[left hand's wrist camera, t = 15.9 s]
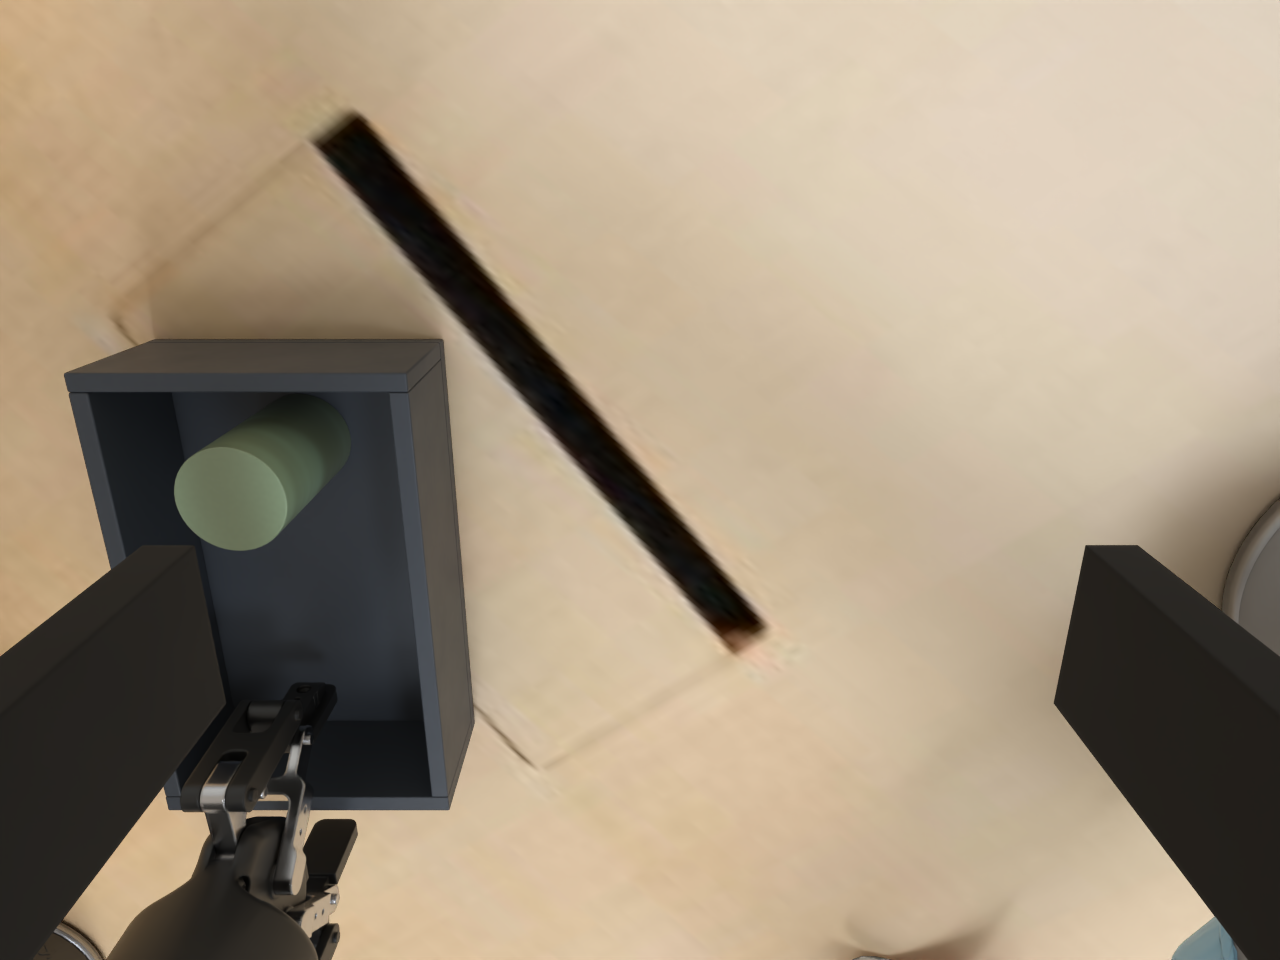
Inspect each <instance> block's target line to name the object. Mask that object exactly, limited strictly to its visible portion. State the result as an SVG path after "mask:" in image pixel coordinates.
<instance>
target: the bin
mask: <svg viewBox="0 0 1280 960" xmlns="http://www.w3.org/2000/svg"><path fill="white" fill-rule="evenodd" d="M64 377H65V381H66V386H67V390H68V392H70V393H69V398H70V402H71V406H72V410H73V414H74V418H75V423H76V427H77V431H78V435H79V439H80V443H81V447H82V451H83V456H84V460H85V464H86V468H87V472H88V476H89V480H90V485H91V489H92V493H93V497H94V501H95V505H96V509H97V513H98V518H99V522H100V526H101V530H102V534H103V538H104V542H105V546H106V551H107V555H108V559H109V563H110V567H111V569H113V568H114V567H115V566H117V565H118V564H119V563H120V562H122V561H123V560H124V559H126V558H127V557H128V556H129V555H131V554H132V553H133V552H134V551H136V550H137V549H138V548H140V547H141V546H142V545H194V546H195V551H196V556H197V561H198V566H199V571H200V576H201V581H202V586H203V591H204V596H205V601H206V606H207V610H208V615H209V620H210V625H211V630H212V635H213V640H214V645H215V650H216V655H217V660H218V665H219V670H220V675H221V680H222V685H223V690H224V695H225V700H226V704H225V706H224V707H223V708H222V710H221V711H220V712H219V714H218V715H217V716H216V718H215V719H214V720H213V721H212V723H211V724H210V725H209V727H208V728H207V729H206V731H205V732H204V733H203V735H202V736H201V737H200V739H199V740H198V741H197V743H196V744H195V745H194V747H193V748H192V749H191V751H190V752H189V753H188V755H187V756H186V757H185V759H184V760H183V761H182V762H181V764H180V765H179V766H178V768H177V769H176V770H175V772H174V773H173V774H172V776H171V777H170V778H169V780H168V781H167V782H166V784H165V785H164V790H165V794H166V800H167V804H168V808H169V810H182V809H181V806H180V795H181V791H182V788H183V786H184V784H185V782H186V781H187V779H188V778H189V776H190V775H191V773H192V772H193V770H194V769H195V767H196V766H197V765H198V763H199V762H200V760H201V759H202V757H203V756H204V754H205V753H206V751H207V750H208V748H209V747H210V745H211V744H212V742H213V741H214V739H215V738H216V736H217V735H218V733H219V732H220V730H221V729H222V727H223V726H224V724H225V723H226V721H227V720H228V718H229V717H230V716H231V714H232V713H233V711H234V710H235V708H236V707H237V705H238V704H239V702H240V701H241V700H282V699H283V698H284V696H285V695H286V693H288V690H289V689H290V687H291V685H293V684H294V683H296V682H325V684H332V685H334V686H335V687H336V692H337V699H338V701H337V703H336V705H335V706H334V708H333V710H332V712H331V714H330V715H329V717H328V719H327V721H326V723H325V724H324V726H323V728H322V730H321V732H320V733H319V735H318V737H317V739H316V741H315V742H314V743H312V748H311V753H310V758H309V763H308V768H307V773H306V781H307V782H308V783H309V784H310V785H311V786H312V787H313V790H314V794H313V799H312V804H311V809H310V810H449V809H450V806H451V802H452V799H453V796H454V792H455V789H456V785H457V782H458V779H459V775H460V772H461V768H462V765H463V762H464V758H465V755H466V751H467V748H468V744H469V741H470V738H471V734H472V730H473V727H474V724H475V723H474V711H473V698H472V686H471V674H470V662H469V649H468V637H467V625H466V613H465V601H464V588H463V576H462V564H461V552H460V539H459V527H458V515H457V503H456V491H455V478H454V466H453V454H452V442H451V430H450V417H449V405H448V393H447V381H446V368H445V356H444V344H443V340H442V339H154V340H152V341H149V342H146V343H144V344H141V345H139V346H136V347H133V348H131V349H128V350H125V351H123V352H120V353H117V354H115V355H112V356H109V357H107V358H104V359H101V360H98V361H96V362H93V363H90V364H88V365H85V366H82V367H80V368H77V369H74V370H72V371H69V372H66V373H64ZM291 394H306V395H311V396H315V397H317V398H320V399H322V400H324V401H325V402H327V403H329V404H330V405H331V406H333V407H334V408H335V409H336V410H337V411H338V412H339V413H340V415H341V416H342V417H343V419H344V420H345V422H346V424H347V426H348V429H349V432H350V437H351V450H350V455H349V457H348V460H347V462H346V463H345V465H344V466H343V467H342V469H341V470H340V471H339V472H338V473H337V474H336V475H335V476H334V477H333V478H332V479H331V480H330V481H329V482H328V483H327V484H326V485H325V486H324V487H323V488H322V490H321V491H320V492H319V493H318V494H317V495H316V496H315V497H314V498H313V499H312V500H311V501H310V502H309V503H308V504H307V505H306V506H305V507H304V508H303V509H302V510H301V511H300V512H299V513H298V514H297V516H296V517H295V518H294V519H293V520H292V521H291V522H290V523H289V524H288V525H287V526H286V527H285V528H284V529H283V530H282V531H281V532H280V533H279V534H278V535H277V536H276V537H275V538H274V539H273V540H272V541H270V542H269V543H268V544H266V545H264V546H262V547H259V548H256V549H252V550H244V551H235V550H228V549H224V548H220V547H217V546H215V545H212V544H210V543H208V542H207V541H205V540H203V539H202V538H200V537H199V536H198V535H197V534H195V533H194V532H193V531H192V530H191V529H190V528H189V527H188V525H187V524H186V523H185V521H184V520H183V518H182V517H181V515H180V513H179V511H178V508H177V505H176V502H175V495H174V486H175V480H176V477H177V474H178V472H179V470H180V468H181V466H182V465H183V464H184V462H185V461H186V460H187V459H188V458H190V457H191V456H192V455H194V454H195V453H197V452H198V451H200V450H201V449H203V448H204V447H206V446H207V445H209V444H210V443H212V442H213V441H215V440H216V439H218V438H219V437H221V436H222V435H224V434H225V433H227V432H228V431H230V430H231V429H233V428H234V427H236V426H237V425H239V424H240V423H242V422H243V421H245V420H246V419H248V418H249V417H251V416H252V415H254V414H255V413H257V412H258V411H260V410H261V409H263V408H264V407H266V406H267V405H269V404H270V403H272V402H273V401H275V400H277V399H279V398H280V397H283V396H286V395H291ZM289 754H290V753H284V754H283V756H282V758H281V760H280V761H279V763H278V765H277V767H276V769H275V771H274V772H273V774H272V776H271V777H280V776H282V775H283V774H284V773H285V771H286V768H287V763H288V759H289ZM288 808H289V801H257V803H256V805H255V807H254V808H253V810H288Z"/></svg>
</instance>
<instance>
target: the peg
mask: <svg viewBox="0 0 1280 960" xmlns="http://www.w3.org/2000/svg"><path fill="white" fill-rule="evenodd" d="M350 450H351V437H350V432H349V429H348V426H347V424H346V422H345V420H344V419H343V417H342V416H341V415H340V413H339V412H338V411H337V410H336V409H335V408H334V407H333V406H331V405H330V404H329V403H327V402H325V401H324V400H322V399H320V398H317V397H315V396H311V395H306V394H291V395H286V396H283V397H280V398H279V399H277V400H275V401H273V402H272V403H270V404H269V405H267V406H266V407H264V408H263V409H261V410H260V411H258V412H257V413H255V414H254V415H252V416H251V417H249V418H248V419H246V420H245V421H243V422H242V423H240V424H239V425H237V426H236V427H234V428H233V429H231V430H230V431H228V432H227V433H225V434H224V435H222V436H221V437H219V438H218V439H216V440H215V441H213V442H212V443H210V444H209V445H207V446H206V447H204V448H203V449H201V450H200V451H198V452H197V453H195V454H194V455H192V456H191V457H190V458H188V459H187V460H186V461H185V462H184V464H183V465H182V466H181V468H180V470H179V472H178V474H177V477H176V480H175V486H174V495H175V502H176V505H177V508H178V511H179V513H180V515H181V517H182V518H183V520H184V521H185V523H186V524H187V525H188V527H189V528H190V529H191V530H192V531H193V532H194V533H195V534H197V535H198V536H199V537H200V538H202V539H203V540H205V541H207V542H208V543H210V544H212V545H215V546H217V547H220V548H224V549H228V550H235V551H244V550H252V549H256V548H259V547H262V546H264V545H266V544H268V543H269V542H270V541H272V540H273V539H274V538H275V537H276V536H277V535H278V534H279V533H280V532H281V531H282V530H283V529H284V528H285V527H286V526H287V525H288V524H289V523H290V522H291V521H292V520H293V519H294V518H295V517H296V516H297V514H298V513H299V512H300V511H301V510H302V509H303V508H304V507H305V506H306V505H307V504H308V503H309V502H310V501H311V500H312V499H313V498H314V497H315V496H316V495H317V494H318V493H319V492H320V491H321V490H322V488H323V487H324V486H325V485H326V484H327V483H328V482H329V481H330V480H331V479H332V478H333V477H334V476H335V475H336V474H337V473H338V472H339V471H340V470H341V469H342V467H343V466H344V465H345V463H346V462H347V460H348V457H349V455H350Z"/></svg>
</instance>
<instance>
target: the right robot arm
mask: <svg viewBox="0 0 1280 960" xmlns="http://www.w3.org/2000/svg"><path fill="white" fill-rule="evenodd" d="M337 701H338V699H337V692H336V687H335V686H334V685H332V684H325V682H296V683H294V684H293V685H291V687H290V689H289V690H288V693H286V695H285V696H284V698H283V699H282V700H241V701H240V702H239V704H238V705H237V707H236V708H235V710H234V711H233V713H232V714H231V716H230V717H229V718H228V720H227V721H226V723H225V724H224V726H223V727H222V729H221V730H220V732H219V733H218V735H217V736H216V738H215V739H214V741H213V742H212V744H211V745H210V747H209V748H208V750H207V751H206V753H205V754H204V756H203V757H202V759H201V760H200V762H199V763H198V765H197V766H196V767H195V769H194V770H193V772H192V773H191V775H190V776H189V778H188V779H187V781H186V782H185V784H184V786H183V788H182V791H181V795H180V806H181V809H182V811H183V812H204V813H205V815H206V819H207V823H208V827H209V830H210V835H209V836H208V837H207V839H206V841H205V843H204V845H203V847H202V850H201V853H200V857H199V860H198V862H197V865H196V868H195V870H194V872H193V875H192V877H191V879H190V880H189V881H188V882H186V883H185V884H184V885H182V886H181V887H179V888H178V889H176V890H174V891H173V892H171V893H170V894H168V895H166V896H165V897H163V898H161V899H159V900H158V901H156V902H154V903H153V904H151V905H150V906H148V907H147V908H145V909H144V910H143V911H142V912H141V913H139V914H138V915H137V916H136V917H135V918H134V920H133V921H132V922H131V923H130V925H129V926H128V928H127V929H126V931H125V932H124V934H123V935H122V937H121V938H120V940H119V941H118V943H117V944H116V946H115V947H114V949H113V950H112V952H111V953H110V955H109V956H108V958H107V959H106V960H331V959H332V957H333V954H334V952H335V949H336V947H337V944H338V942H339V939H340V932H339V925H338V924H329V915H330V914H332V913H333V912H334V911H335V910H336V907H337V904H338V902H339V897H340V896H339V888H338V886H337V885H335V884H338V881H339V879H340V877H341V874H342V872H343V869H344V867H345V865H346V862H347V860H348V857H349V855H350V852H351V850H352V848H353V845H354V843H355V840H356V838H357V835H358V833H357V826H356V822H355V821H354V820H352V819H323V820H320V821H318V822H317V823H316V824H315V825H314V827H313V829H312V831H311V833H310V835H309V837H308V839H307V841H306V843H305V845H304V839H305V834H306V829H307V824H308V819H309V814H310V809H311V804H312V799H313V794H314V790H313V787H312V786H311V785H310V784H309V783H308V782H307V781H306V773H307V768H308V763H309V758H310V753H311V748H312V743H314V742H315V741H316V739H317V737H318V735H319V733H320V732H321V730H322V728H323V726H324V724H325V723H326V721H327V719H328V717H329V715H330V714H331V712H332V710H333V708H334V706H335V705H336V703H337ZM284 753H290V754H289V759H288V763H287V768H286V771H285V773H284V774H283V775H282V776H280V777H271V776H272V774H273V772H274V771H275V769H276V767H277V765H278V763H279V761H280V760H281V758H282V756H283V754H284ZM257 801H289V808H288V812H287V817H252V818H248V819H246V813H247V812H251V811H252V810H253V808H254V807H255V805H256V803H257ZM303 845H304V847H303ZM32 960H102V958H101V956H100V954H99V953H98V952H97V950H96V949H95V948H94V946H93V945H92V944H91V943H90V942H89V941H88V940H87V939H86V938H84V937H83V936H82V935H81V934H79V933H78V932H77V931H75V930H74V929H72V928H70V927H69V926H67V925H65V924H63V923H61V922H60V924H59V925H58V926H57V928H56V929H55V930H54V932H53V933H52V934H51V936H50V937H49V938H48V940H47V941H46V942H45V944H44V945H43V946H42V948H41V949H40V950H39V952H38V953H37V954H36V956H35V957H34V958H33V959H32Z"/></svg>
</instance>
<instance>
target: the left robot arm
mask: <svg viewBox="0 0 1280 960" xmlns="http://www.w3.org/2000/svg"><path fill="white" fill-rule="evenodd" d="M225 704H226V700H225V695H224V690H223V685H222V680H221V675H220V670H219V665H218V660H217V655H216V650H215V645H214V640H213V635H212V630H211V625H210V620H209V615H208V610H207V606H206V601H205V596H204V591H203V586H202V581H201V576H200V571H199V566H198V561H197V556H196V551H195V546H194V545H142V546H141V547H140V548H138V549H137V550H136V551H134V552H133V553H132V554H131V555H129V556H128V557H127V558H126V559H124V560H123V561H122V562H120V563H119V564H118V565H117V566H115V567H114V568H113V569H111V570H110V571H109V572H108V573H106V574H105V575H104V576H103V577H101V578H100V579H99V580H97V581H96V582H95V583H94V584H92V585H91V586H90V587H88V588H87V589H86V590H85V591H83V592H82V593H81V594H79V595H78V596H77V597H76V598H74V599H73V600H72V601H71V602H69V603H68V604H67V605H65V606H64V607H63V608H62V609H60V610H59V611H58V612H56V613H55V614H54V615H53V616H51V617H50V618H49V619H48V620H46V621H45V622H44V623H42V624H41V625H40V626H39V627H37V628H36V629H35V630H33V631H32V632H31V633H30V634H28V635H27V636H26V637H24V638H23V639H22V640H21V641H19V642H18V643H17V644H16V645H14V646H13V647H12V648H10V649H9V650H8V651H7V652H5V653H4V654H3V655H1V656H0V960H32V959H33V958H34V957H35V956H36V954H37V953H38V952H39V950H40V949H41V948H42V946H43V945H44V944H45V942H46V941H47V940H48V938H49V937H50V936H51V934H52V933H53V932H54V930H55V929H56V928H57V926H58V925H59V924H60V922H61V921H62V920H63V919H64V917H65V916H66V915H67V913H68V912H69V911H70V909H71V908H72V907H73V905H74V904H75V903H76V901H77V900H78V899H79V897H80V896H81V895H82V893H83V892H84V891H85V889H86V888H87V887H88V885H89V884H90V883H91V881H92V880H93V879H94V878H95V876H96V875H97V874H98V872H99V871H100V870H101V868H102V867H103V866H104V864H105V863H106V862H107V860H108V859H109V858H110V856H111V855H112V854H113V852H114V851H115V850H116V848H117V847H118V846H119V844H120V843H121V842H122V840H123V839H124V838H125V837H126V835H127V834H128V833H129V831H130V830H131V829H132V827H133V826H134V825H135V823H136V822H137V821H138V819H139V818H140V817H141V815H142V814H143V813H144V811H145V810H146V809H147V807H148V806H149V805H150V803H151V802H152V801H153V799H154V798H155V797H156V796H157V794H158V793H159V792H160V790H161V789H162V788H163V786H164V785H165V784H166V782H167V781H168V780H169V778H170V777H171V776H172V774H173V773H174V772H175V770H176V769H177V768H178V766H179V765H180V764H181V762H182V761H183V760H184V759H185V757H186V756H187V755H188V753H189V752H190V751H191V749H192V748H193V747H194V745H195V744H196V743H197V741H198V740H199V739H200V737H201V736H202V735H203V733H204V732H205V731H206V729H207V728H208V727H209V725H210V724H211V723H212V721H213V720H214V719H215V718H216V716H217V715H218V714H219V712H220V711H221V710H222V708H223V707H224V706H225ZM1054 704H1055V706H1056V707H1057V708H1058V710H1059V711H1060V712H1061V714H1062V715H1063V716H1064V718H1065V719H1066V720H1067V721H1068V723H1069V724H1070V725H1071V727H1072V728H1073V729H1074V731H1075V732H1076V733H1077V735H1078V736H1079V737H1080V739H1081V740H1082V741H1083V743H1084V744H1085V745H1086V747H1087V748H1088V749H1089V751H1090V752H1091V753H1092V755H1093V756H1094V757H1095V759H1096V760H1097V761H1098V762H1099V764H1100V765H1101V766H1102V768H1103V769H1104V770H1105V772H1106V773H1107V774H1108V776H1109V777H1110V778H1111V780H1112V781H1113V782H1114V784H1115V785H1116V786H1117V788H1118V789H1119V790H1120V792H1121V793H1122V794H1123V796H1124V797H1125V798H1126V799H1127V801H1128V802H1129V803H1130V805H1131V806H1132V807H1133V809H1134V810H1135V811H1136V813H1137V814H1138V815H1139V817H1140V818H1141V819H1142V821H1143V822H1144V823H1145V825H1146V826H1147V827H1148V829H1149V830H1150V831H1151V833H1152V834H1153V835H1154V837H1155V838H1156V839H1157V840H1158V842H1159V843H1160V844H1161V846H1162V847H1163V848H1164V850H1165V851H1166V852H1167V854H1168V855H1169V856H1170V858H1171V859H1172V860H1173V862H1174V863H1175V864H1176V866H1177V867H1178V868H1179V870H1180V871H1181V872H1182V874H1183V875H1184V876H1185V878H1186V879H1187V880H1188V881H1189V883H1190V884H1191V885H1192V887H1193V888H1194V889H1195V891H1196V892H1197V893H1198V895H1199V896H1200V897H1201V899H1202V900H1203V901H1204V903H1205V904H1206V905H1207V907H1208V908H1209V909H1210V911H1211V912H1212V913H1213V915H1214V916H1215V917H1213V918H1212V919H1211V920H1210V921H1209V922H1207V923H1206V924H1205V925H1204V926H1202V927H1201V928H1200V929H1199V930H1197V931H1196V932H1195V933H1194V934H1192V935H1191V936H1190V937H1189V938H1187V939H1186V940H1185V941H1184V942H1183V943H1182V944H1181V945H1180V946H1179V947H1178V948H1177V950H1176V951H1175V953H1174V954H1173V956H1172V959H1171V960H1280V499H1278V500H1277V501H1276V502H1275V503H1274V504H1273V505H1272V506H1271V507H1270V508H1269V509H1268V510H1267V511H1266V512H1265V514H1264V515H1263V516H1262V517H1261V518H1260V519H1259V520H1258V522H1257V523H1256V524H1255V526H1254V527H1253V528H1252V529H1251V531H1250V532H1249V534H1248V535H1247V537H1246V538H1245V540H1244V541H1243V543H1242V545H1241V547H1240V548H1239V550H1238V552H1237V554H1236V556H1235V558H1234V560H1233V563H1232V565H1231V567H1230V570H1229V573H1228V576H1227V579H1226V583H1225V588H1224V593H1223V601H1222V611H1221V610H1220V609H1218V608H1217V607H1216V606H1215V605H1213V604H1212V603H1211V602H1209V601H1208V600H1207V599H1206V598H1204V597H1203V596H1202V595H1201V594H1199V593H1198V592H1197V591H1195V590H1194V589H1193V588H1192V587H1190V586H1189V585H1188V584H1186V583H1185V582H1184V581H1183V580H1181V579H1180V578H1179V577H1177V576H1176V575H1175V574H1174V573H1172V572H1171V571H1170V570H1169V569H1167V568H1166V567H1165V566H1163V565H1162V564H1161V563H1160V562H1158V561H1157V560H1156V559H1154V558H1153V557H1152V556H1151V555H1149V554H1148V553H1147V552H1146V551H1144V550H1143V549H1142V548H1140V547H1139V546H1138V545H1086V546H1085V551H1084V556H1083V561H1082V566H1081V571H1080V576H1079V581H1078V586H1077V591H1076V596H1075V601H1074V605H1073V610H1072V615H1071V620H1070V625H1069V630H1068V635H1067V640H1066V645H1065V650H1064V655H1063V660H1062V665H1061V670H1060V675H1059V680H1058V685H1057V690H1056V695H1055V700H1054Z"/></svg>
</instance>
